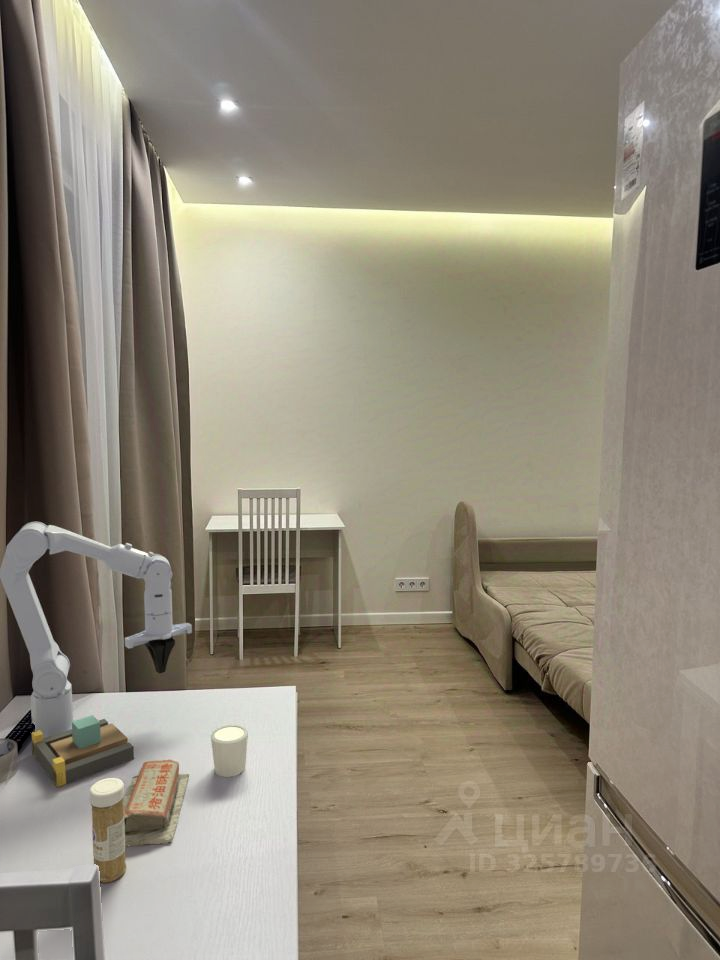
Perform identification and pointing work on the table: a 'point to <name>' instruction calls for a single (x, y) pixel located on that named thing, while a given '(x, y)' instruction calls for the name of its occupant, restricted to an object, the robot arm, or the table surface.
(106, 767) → the dock
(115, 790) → the sprinkles bottle
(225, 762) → the white cup
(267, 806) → the table surface
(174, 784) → the packaged product
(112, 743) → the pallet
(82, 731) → the block
